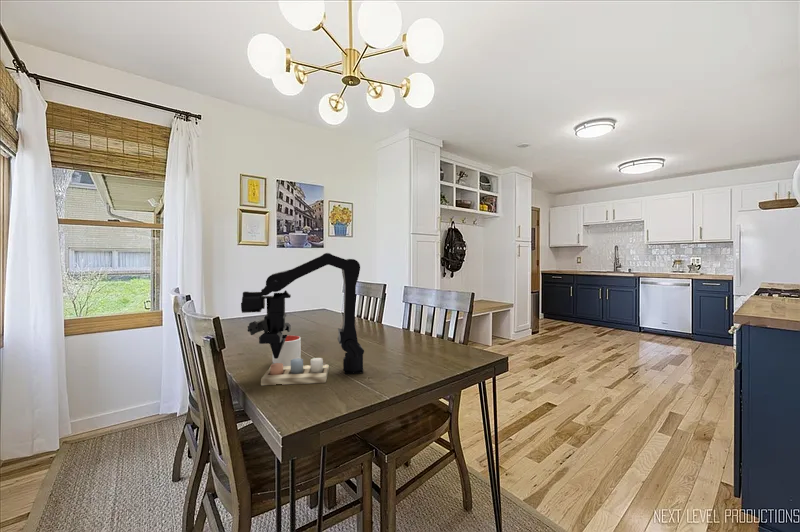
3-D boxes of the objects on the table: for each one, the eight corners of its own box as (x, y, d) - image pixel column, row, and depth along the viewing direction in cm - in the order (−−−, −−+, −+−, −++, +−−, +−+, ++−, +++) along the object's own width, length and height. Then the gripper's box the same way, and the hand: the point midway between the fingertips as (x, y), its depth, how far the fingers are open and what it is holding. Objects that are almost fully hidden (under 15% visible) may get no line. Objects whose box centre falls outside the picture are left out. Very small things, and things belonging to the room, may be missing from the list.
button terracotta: (284, 374, 116) (284, 362, 116) (281, 378, 112) (281, 366, 112) (272, 374, 116) (272, 363, 116) (269, 379, 112) (269, 367, 112)
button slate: (303, 369, 117) (303, 358, 117) (302, 373, 113) (302, 361, 113) (291, 370, 117) (291, 358, 116) (289, 374, 113) (289, 362, 113)
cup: (292, 370, 122) (292, 342, 122) (267, 368, 124) (266, 340, 124) (305, 361, 132) (305, 335, 132) (281, 359, 134) (281, 334, 134)
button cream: (323, 369, 118) (323, 357, 118) (322, 373, 114) (322, 361, 114) (311, 369, 117) (311, 357, 117) (309, 373, 113) (309, 361, 113)
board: (328, 370, 122) (328, 364, 122) (325, 382, 110) (325, 376, 110) (270, 372, 120) (270, 366, 120) (261, 385, 108) (260, 379, 108)
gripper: (258, 307, 122) (258, 351, 122) (241, 317, 103) (241, 368, 104) (290, 307, 123) (291, 350, 124) (279, 316, 104) (279, 367, 105)
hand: (276, 358), depth 114 cm, fingers closed
